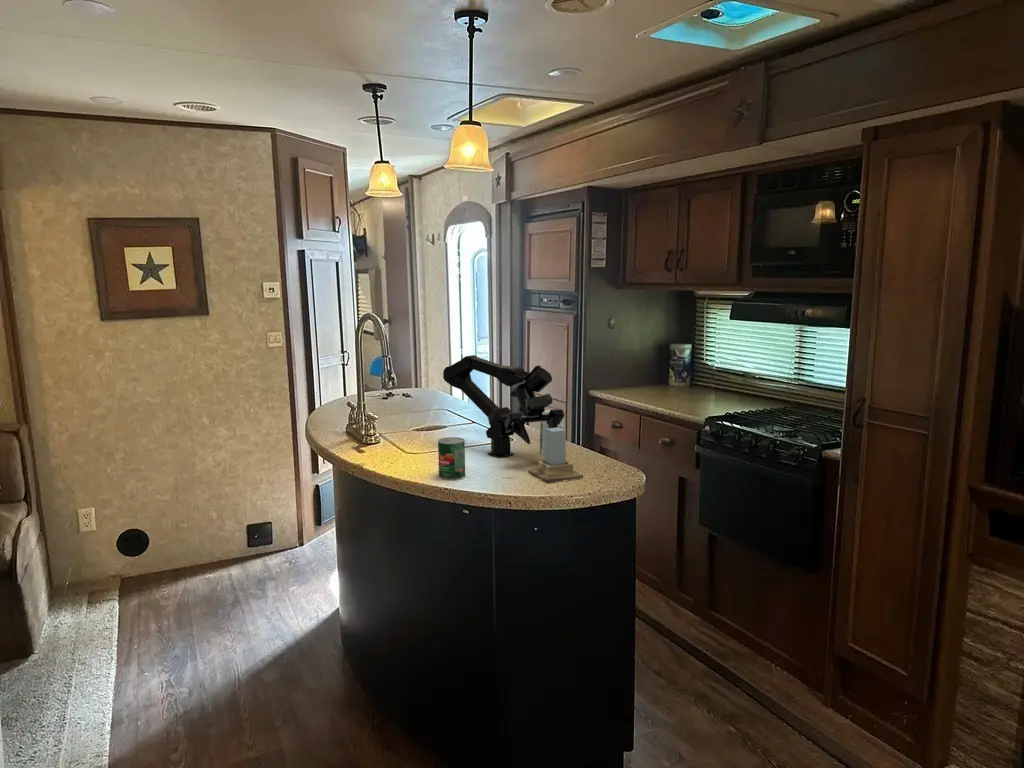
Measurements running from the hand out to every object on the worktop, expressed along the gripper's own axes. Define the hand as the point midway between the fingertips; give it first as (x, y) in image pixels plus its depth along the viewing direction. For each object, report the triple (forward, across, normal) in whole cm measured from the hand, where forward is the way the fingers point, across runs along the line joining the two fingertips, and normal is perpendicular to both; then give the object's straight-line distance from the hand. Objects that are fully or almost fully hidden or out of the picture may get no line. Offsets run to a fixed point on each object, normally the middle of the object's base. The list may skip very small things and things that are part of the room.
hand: (542, 442), depth 209 cm
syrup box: (-5, +11, +17) cm, 21 cm away
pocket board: (+12, 0, 0) cm, 12 cm away
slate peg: (+11, 0, 0) cm, 11 cm away
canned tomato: (+3, -28, +9) cm, 30 cm away
